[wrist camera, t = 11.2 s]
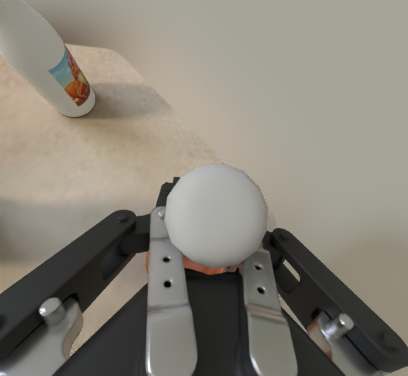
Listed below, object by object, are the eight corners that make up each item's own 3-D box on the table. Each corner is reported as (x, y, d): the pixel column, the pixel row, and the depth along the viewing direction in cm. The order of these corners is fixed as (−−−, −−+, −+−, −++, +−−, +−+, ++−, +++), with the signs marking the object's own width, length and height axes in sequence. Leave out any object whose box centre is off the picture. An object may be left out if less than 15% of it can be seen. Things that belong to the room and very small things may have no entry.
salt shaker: (200, 184, 20) (242, 115, 8) (228, 229, 20) (324, 233, 7) (152, 213, 19) (109, 185, 6) (181, 262, 18) (198, 338, 6)
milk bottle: (73, 126, 35) (-53, 1, 16) (43, 99, 35) (-119, -57, 16) (105, 101, 37) (27, -37, 17) (76, 76, 37) (-32, -89, 18)
